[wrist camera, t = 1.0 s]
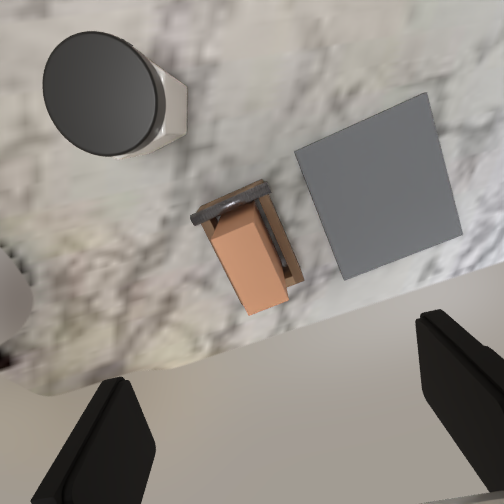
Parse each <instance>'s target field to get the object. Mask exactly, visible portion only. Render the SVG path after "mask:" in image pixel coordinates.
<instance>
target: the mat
mask: <svg viewBox="0 0 504 504" xmlns="http://www.w3.org/2000/svg"><path fill="white" fill-rule="evenodd" d="M294 152H295V155H296V157H297V160H298V163H299V165H300V168H301V170H302V173H303V175H304V178H305V181H306V183H307V186H308V188H309V191H310V194H311V196H312V199H313V201H314V204H315V206H316V209H317V212H318V214H319V217H320V219H321V222H322V224H323V227H324V230H325V232H326V235H327V237H328V240H329V243H330V245H331V248H332V250H333V253H334V255H335V258H336V261H337V263H338V266H339V268H340V271H341V273H342V276H343V279H344V280H347V279H350V278H352V277H355V276H357V275H360V274H363V273H365V272H368V271H370V270H373V269H375V268H378V267H381V266H383V265H386V264H388V263H391V262H394V261H396V260H399V259H401V258H404V257H407V256H409V255H412V254H414V253H417V252H419V251H422V250H425V249H427V248H430V247H432V246H435V245H438V244H440V243H443V242H445V241H448V240H450V239H453V238H456V237H458V236H461V235H463V233H462V229H461V225H460V221H459V217H458V213H457V209H456V205H455V201H454V197H453V193H452V189H451V186H450V182H449V178H448V174H447V170H446V166H445V162H444V158H443V154H442V150H441V146H440V142H439V138H438V134H437V131H436V127H435V123H434V119H433V115H432V111H431V107H430V103H429V99H428V95H427V92H426V93H423V94H421V95H418V96H416V97H414V98H412V99H410V100H407V101H405V102H403V103H401V104H398V105H396V106H394V107H392V108H390V109H387V110H385V111H383V112H381V113H379V114H376V115H374V116H372V117H370V118H367V119H365V120H363V121H361V122H359V123H356V124H354V125H352V126H350V127H348V128H345V129H343V130H341V131H339V132H336V133H334V134H332V135H330V136H328V137H325V138H323V139H321V140H319V141H317V142H314V143H312V144H310V145H308V146H305V147H303V148H301V149H299V150H297V151H294Z"/></svg>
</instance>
